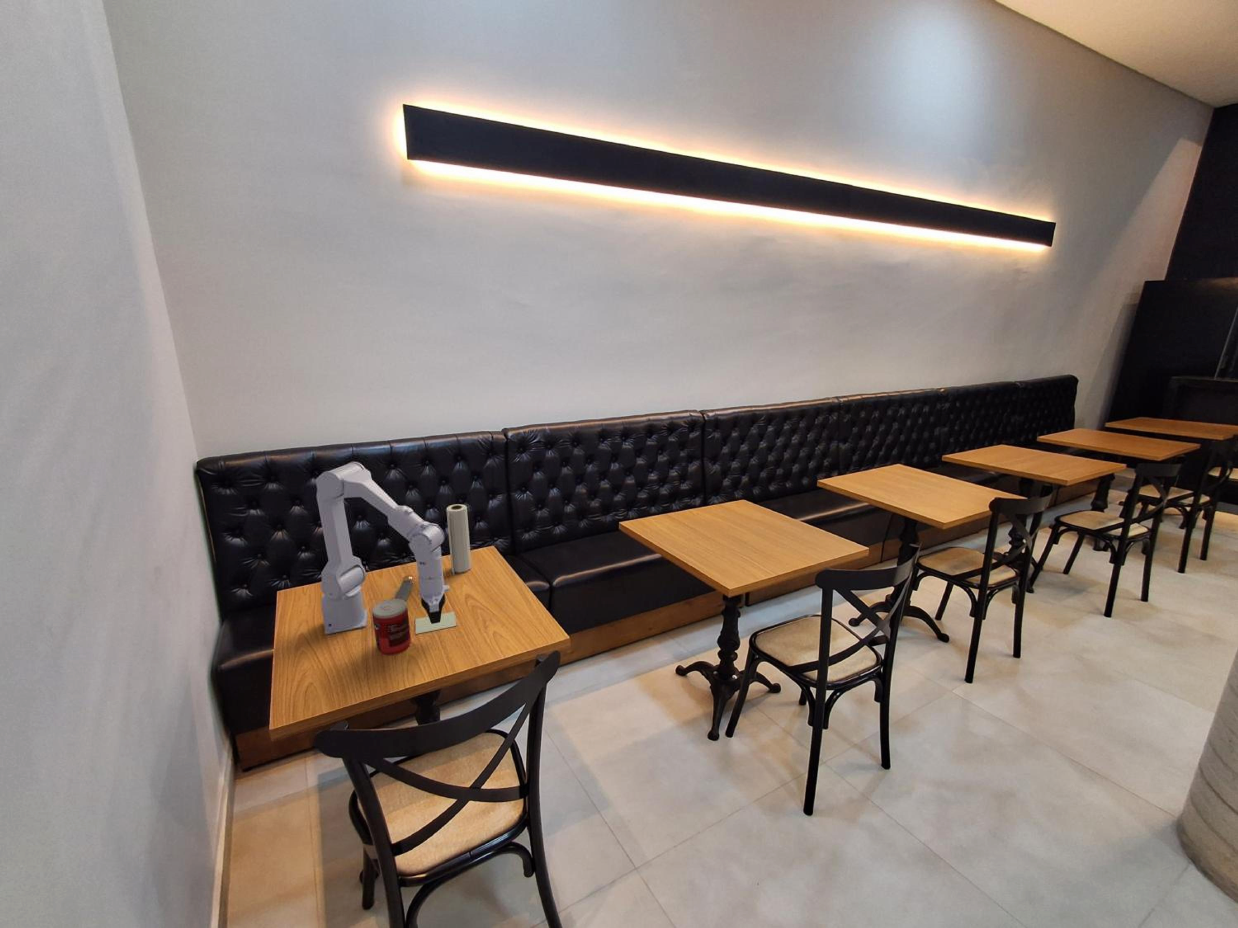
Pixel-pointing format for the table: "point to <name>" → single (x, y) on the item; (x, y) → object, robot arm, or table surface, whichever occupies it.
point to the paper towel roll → (458, 538)
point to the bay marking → (426, 626)
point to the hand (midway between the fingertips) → (435, 621)
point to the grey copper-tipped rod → (405, 588)
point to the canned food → (391, 626)
